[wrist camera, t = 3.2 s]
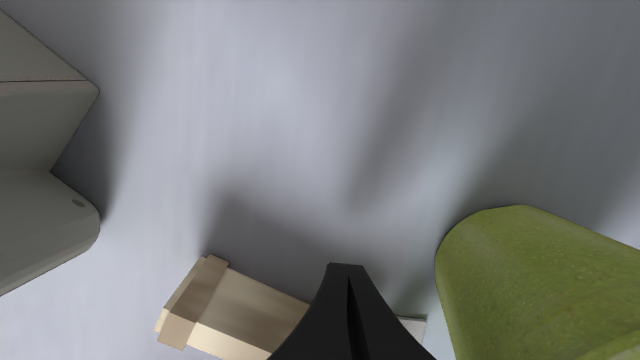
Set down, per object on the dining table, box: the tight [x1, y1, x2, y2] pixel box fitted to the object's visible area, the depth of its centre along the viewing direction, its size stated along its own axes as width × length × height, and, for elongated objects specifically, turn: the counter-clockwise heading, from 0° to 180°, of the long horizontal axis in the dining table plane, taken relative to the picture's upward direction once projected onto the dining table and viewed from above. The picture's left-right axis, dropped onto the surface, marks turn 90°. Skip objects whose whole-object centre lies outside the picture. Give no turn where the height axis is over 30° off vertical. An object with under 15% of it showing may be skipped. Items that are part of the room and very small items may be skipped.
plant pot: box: [435, 204, 640, 360], centre depth 10 cm, size 9×9×9 cm
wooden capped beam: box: [153, 254, 310, 360], centre depth 13 cm, size 9×2×4 cm, turn 63°
